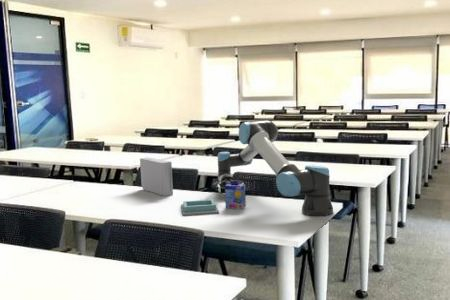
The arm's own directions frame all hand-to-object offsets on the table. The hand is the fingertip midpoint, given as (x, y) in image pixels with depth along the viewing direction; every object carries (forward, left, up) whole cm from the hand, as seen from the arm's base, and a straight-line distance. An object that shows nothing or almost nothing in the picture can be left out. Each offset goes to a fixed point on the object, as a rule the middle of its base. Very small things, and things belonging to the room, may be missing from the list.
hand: (232, 188), depth 268 cm
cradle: (-10, +19, -8) cm, 23 cm away
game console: (+40, +41, -8) cm, 58 cm away
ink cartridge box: (-10, 0, -8) cm, 13 cm away
